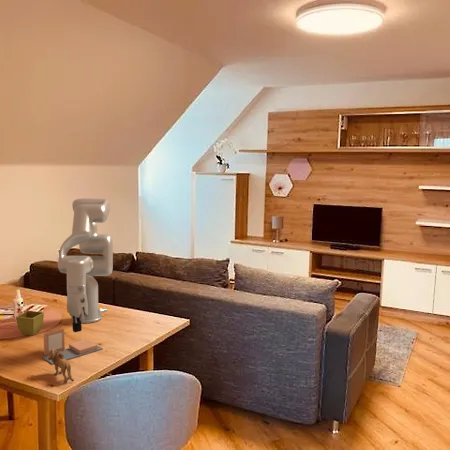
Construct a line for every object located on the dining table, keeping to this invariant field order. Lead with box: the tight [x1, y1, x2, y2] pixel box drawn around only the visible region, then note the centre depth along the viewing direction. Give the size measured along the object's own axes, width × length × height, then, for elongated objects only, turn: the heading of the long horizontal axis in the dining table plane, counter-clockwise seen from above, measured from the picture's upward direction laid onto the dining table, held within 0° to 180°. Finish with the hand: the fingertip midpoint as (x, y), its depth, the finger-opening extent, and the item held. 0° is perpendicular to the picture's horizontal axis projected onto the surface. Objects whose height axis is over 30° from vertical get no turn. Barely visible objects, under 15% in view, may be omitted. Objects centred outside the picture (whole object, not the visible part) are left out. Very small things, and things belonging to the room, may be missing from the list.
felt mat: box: [41, 345, 104, 366], centre depth 190 cm, size 22×9×1 cm, turn 136°
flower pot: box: [15, 310, 45, 336], centre depth 210 cm, size 9×9×9 cm
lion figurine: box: [47, 349, 75, 383], centre depth 169 cm, size 15×5×9 cm, turn 51°
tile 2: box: [68, 338, 98, 354], centre depth 194 cm, size 8×2×9 cm
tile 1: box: [43, 328, 66, 356], centre depth 190 cm, size 8×2×9 cm, turn 136°
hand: (77, 331), depth 196 cm, fingers closed
